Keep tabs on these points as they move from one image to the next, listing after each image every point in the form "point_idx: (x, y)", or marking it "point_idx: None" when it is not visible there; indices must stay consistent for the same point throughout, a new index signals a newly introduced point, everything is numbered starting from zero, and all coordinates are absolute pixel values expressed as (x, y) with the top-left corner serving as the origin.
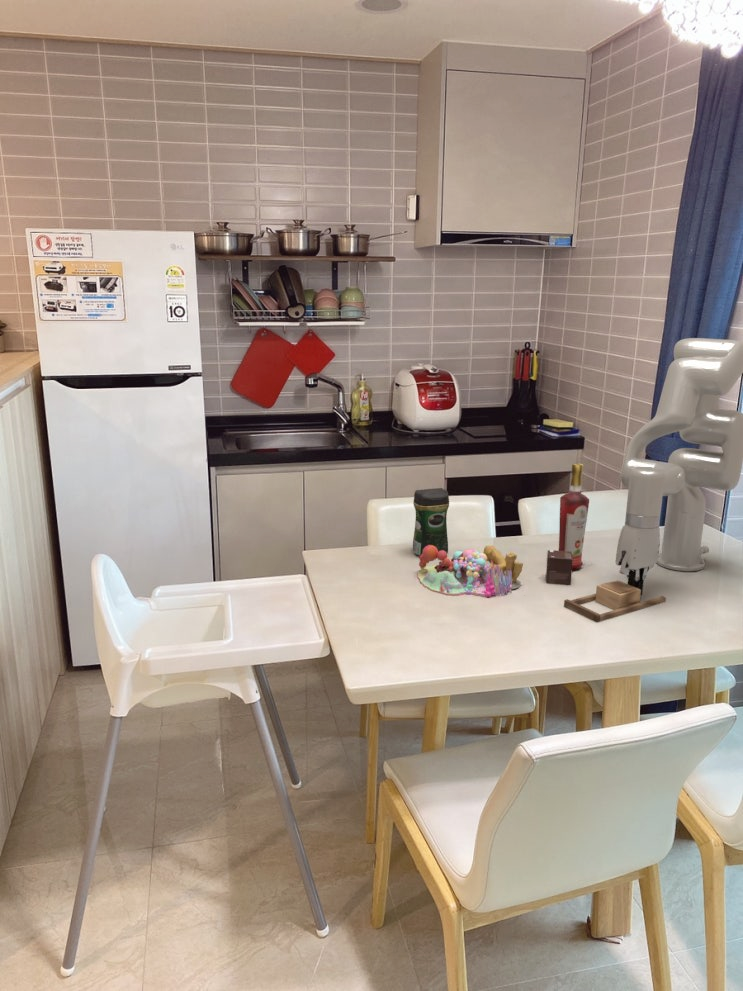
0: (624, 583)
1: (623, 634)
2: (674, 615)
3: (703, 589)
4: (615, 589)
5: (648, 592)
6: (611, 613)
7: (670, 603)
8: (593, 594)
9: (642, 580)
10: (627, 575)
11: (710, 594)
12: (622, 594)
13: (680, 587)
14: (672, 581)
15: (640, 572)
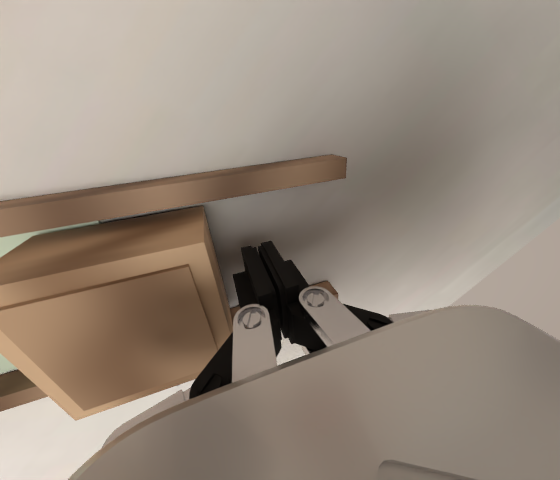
0: (211, 297)
1: (39, 447)
2: (284, 352)
3: (480, 236)
4: (80, 375)
5: (358, 205)
6: (25, 403)
7: (339, 292)
8: (14, 212)
9: (292, 342)
10: (218, 357)
11: (459, 265)
12: (99, 409)
13: (461, 205)
14: (495, 153)
15: (322, 344)
